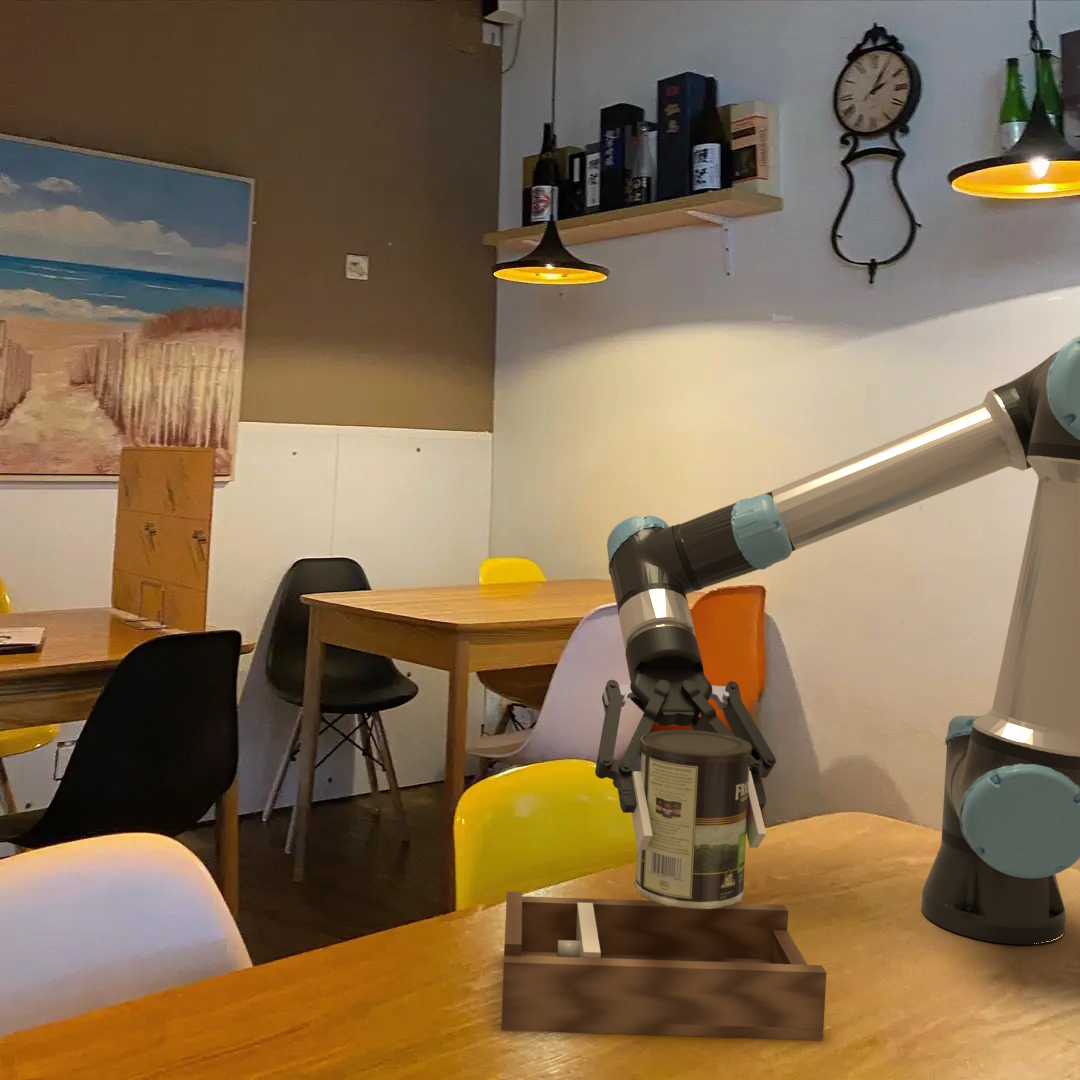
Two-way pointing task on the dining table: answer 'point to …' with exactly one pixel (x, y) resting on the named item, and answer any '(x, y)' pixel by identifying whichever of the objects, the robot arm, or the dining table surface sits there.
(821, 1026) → the wooden tray
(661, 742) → the coffee can
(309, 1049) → the dining table surface
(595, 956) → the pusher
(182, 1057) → the dining table surface
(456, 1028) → the dining table surface
